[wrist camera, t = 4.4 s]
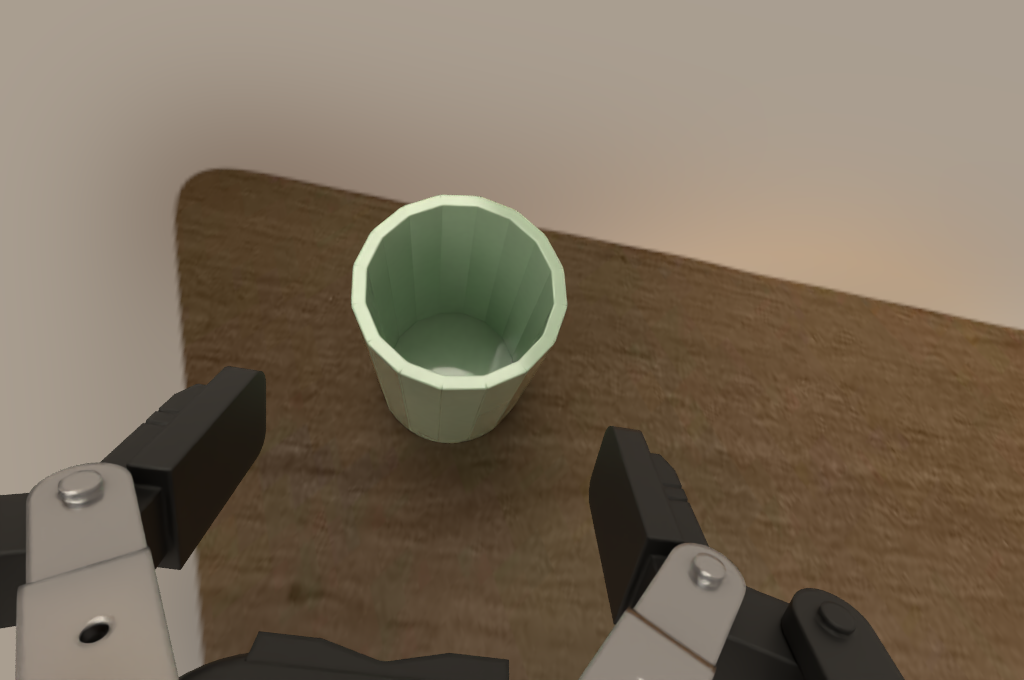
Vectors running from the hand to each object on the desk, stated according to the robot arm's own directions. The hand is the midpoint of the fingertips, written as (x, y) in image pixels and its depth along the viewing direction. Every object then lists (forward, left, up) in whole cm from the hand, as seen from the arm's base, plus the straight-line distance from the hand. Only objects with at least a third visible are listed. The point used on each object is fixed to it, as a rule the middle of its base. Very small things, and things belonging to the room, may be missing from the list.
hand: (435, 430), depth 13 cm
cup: (+1, +4, -10) cm, 11 cm away
